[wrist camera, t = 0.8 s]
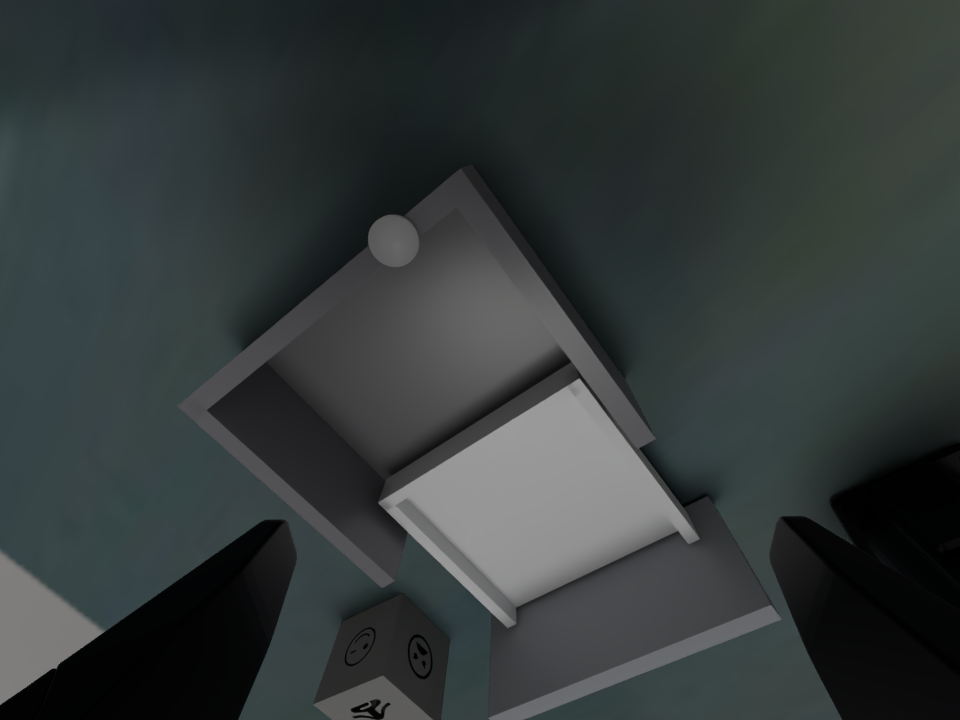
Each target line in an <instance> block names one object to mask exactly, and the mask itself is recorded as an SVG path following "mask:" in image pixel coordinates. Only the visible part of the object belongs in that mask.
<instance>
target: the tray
mask: <svg viewBox="0 0 960 720" xmlns="http://www.w3.org/2000/svg"><path fill="white" fill-rule="evenodd" d="M378 504H379V505H380V506H382V507H383V508H384V509H385V510H386V511H387V512H388V513H389V514H390V515H391V516H392V517H393V518H394V519H395V520H396V521H397V522H398V523H399V524H400V525H401V526H402V527H403V528H404V529H405V530H406V531H407V532H408V533H409V534H411V535H412V536H413V537H414V538H415V539H416V540H417V541H418V542H419V543H420V544H421V545H422V546H423V547H424V548H425V549H426V550H427V551H428V552H429V553H430V554H431V555H432V556H433V557H434V558H435V559H436V560H437V561H439V562H440V563H441V564H442V565H443V566H444V567H445V568H446V569H447V570H448V571H449V572H450V573H451V574H452V575H453V576H454V577H455V578H456V579H457V580H458V581H459V582H460V583H461V584H462V585H463V586H464V587H465V588H466V589H468V590H469V591H470V592H471V593H472V594H473V595H474V596H475V597H476V598H477V599H478V600H479V601H480V602H481V603H482V604H483V605H484V606H485V607H486V608H487V609H488V610H489V611H490V612H491V613H492V618H491V647H490V677H489V706H488V718H489V719H490V720H524V719H526V718H529V717H532V716H534V715H537V714H539V713H542V712H544V711H547V710H550V709H552V708H555V707H557V706H560V705H563V704H565V703H568V702H570V701H573V700H575V699H578V698H581V697H583V696H586V695H588V694H591V693H593V692H596V691H599V690H601V689H604V688H606V687H609V686H611V685H614V684H617V683H619V682H622V681H624V680H627V679H629V678H632V677H635V676H637V675H640V674H642V673H645V672H648V671H650V670H653V669H655V668H658V667H660V666H663V665H666V664H668V663H671V662H673V661H676V660H678V659H681V658H684V657H686V656H689V655H691V654H694V653H696V652H699V651H702V650H704V649H707V648H709V647H712V646H715V645H717V644H720V643H722V642H725V641H727V640H730V639H733V638H735V637H738V636H740V635H743V634H745V633H748V632H751V631H753V630H756V629H758V628H761V627H763V626H766V625H769V624H771V623H774V622H776V621H779V620H782V619H781V617H780V616H779V614H778V612H777V610H776V609H775V607H774V605H773V604H772V602H771V600H770V598H769V597H768V595H767V593H766V592H765V590H764V588H763V587H762V585H761V583H760V581H759V580H758V578H757V576H756V575H755V573H754V571H753V569H752V568H751V566H750V564H749V563H748V561H747V559H746V558H745V556H744V554H743V552H742V551H741V549H740V547H739V546H738V544H737V542H736V540H735V539H734V537H733V535H732V534H731V532H730V530H729V528H728V527H727V525H726V523H725V522H724V520H723V518H722V517H721V515H720V513H719V511H718V510H717V508H716V507H715V505H714V504H713V502H712V501H711V500H710V498H709V497H708V496H706V497H704V498H702V499H700V500H698V501H696V502H694V503H692V504H690V505H688V506H686V507H684V508H683V507H682V505H681V504H680V503H679V501H678V500H677V499H676V497H675V496H674V495H673V493H672V492H671V490H670V489H669V488H668V486H667V485H666V484H665V482H664V481H663V480H662V478H661V477H660V476H659V474H658V473H657V472H656V470H655V469H654V468H653V466H652V465H651V464H650V462H649V461H648V460H647V458H646V457H645V456H644V454H643V453H642V452H641V450H640V449H639V448H638V449H636V447H635V446H634V445H633V443H632V442H631V441H630V439H629V438H628V437H627V435H626V434H625V433H624V431H623V430H622V428H621V427H620V426H619V424H618V423H617V422H616V420H615V419H614V418H613V416H612V415H611V414H610V412H609V411H608V410H607V408H606V407H605V406H604V404H603V403H602V402H601V400H600V399H599V398H598V396H597V395H596V394H595V392H594V391H593V390H592V388H591V387H590V386H589V384H588V383H587V382H586V380H585V379H584V378H583V376H582V375H581V374H580V372H579V371H578V370H577V368H576V367H575V366H574V364H573V363H572V362H571V363H569V364H568V365H566V366H564V367H563V368H561V369H560V370H558V371H557V372H555V373H553V374H552V375H550V376H549V377H547V378H545V379H544V380H542V381H541V382H539V383H538V384H536V385H534V386H533V387H531V388H530V389H528V390H527V391H525V392H523V393H522V394H520V395H519V396H517V397H515V398H514V399H512V400H511V401H509V402H508V403H506V404H504V405H503V406H501V407H500V408H498V409H497V410H495V411H493V412H492V413H490V414H489V415H487V416H485V417H484V418H482V419H481V420H479V421H478V422H476V423H474V424H473V425H471V426H470V427H468V428H466V429H465V430H463V431H462V432H460V433H459V434H457V435H455V436H454V437H452V438H451V439H449V440H448V441H446V442H444V443H443V444H441V445H440V446H438V447H436V448H435V449H433V450H432V451H430V452H429V453H427V454H425V455H424V456H422V457H421V458H419V459H418V460H416V461H414V462H413V463H411V464H410V465H408V466H406V467H405V468H403V469H402V470H400V471H399V472H397V473H395V474H394V475H392V476H391V477H389V478H388V479H386V482H385V485H384V487H383V490H382V493H381V496H380V498H379V501H378Z"/></svg>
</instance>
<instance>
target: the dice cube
mask: <svg viewBox="0 0 960 720" xmlns="http://www.w3.org/2000/svg"><path fill="white" fill-rule="evenodd" d="M449 646H450V640H449V639H448V638H447V637H446V636H445V635H444V634H443V633H442V632H441V631H440V630H439V629H438V628H437V627H436V626H435V625H434V624H433V623H432V622H431V621H430V620H429V619H428V618H427V617H426V616H425V615H424V614H423V613H422V612H421V611H420V610H419V609H418V608H417V607H416V606H415V605H414V604H413V603H412V602H411V601H410V600H409V599H408V598H407V597H406V596H405V595H404V594H403V593H402V594H400V595H398V596H396V597H393V598H391V599H389V600H387V601H385V602H383V603H381V604H378V605H376V606H374V607H372V608H370V609H368V610H366V611H364V612H361V613H359V614H357V615H355V616H353V617H351V618H349V619H346V620H344V621H342V623H341V626H340V629H339V632H338V635H337V638H336V641H335V643H334V646H333V649H332V652H331V655H330V658H329V660H328V663H327V666H326V669H325V672H324V675H323V678H322V680H321V683H320V686H319V689H318V692H317V695H316V697H315V700H314V703H313V705H314V706H316V707H317V708H318V709H319V710H321V711H322V712H323V713H324V714H326V715H327V716H328V717H329V718H331V719H332V720H441V714H442V705H443V697H444V688H445V680H446V671H447V663H448V654H449Z"/></svg>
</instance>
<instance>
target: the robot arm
mask: <svg viewBox="0 0 960 720" xmlns="http://www.w3.org/2000/svg"><path fill="white" fill-rule="evenodd" d="M843 506H844V507H843ZM831 507H832V509H833V511H834V512H835V514H836V516H837V517H838V519H839V521H840V522H841V524H842V526H843V527H844V529H845V531H846V532H847V534H848V536H849V537H850V539H851V541H852V542H853V544H854V545H852V544H850V543H849V542H847V541H845V540H844V539H842V538H840V537H839V536H837V535H835V534H834V533H832V532H831V531H829V530H827V529H826V528H824V527H822V526H821V525H819V524H817V523H816V522H814V521H812V520H811V519H809V518H807V517H803V516H783V517H780V518H779V519H778V520H777V522H776V525H775V530H774V534H773V538H772V542H771V546H770V551H769V557H770V562H771V565H772V568H773V571H774V573H775V575H776V578H777V580H778V583H779V585H780V588H781V590H782V593H783V595H784V597H785V600H786V602H787V605H788V607H789V610H790V612H791V614H792V617H793V619H794V622H795V624H796V627H797V629H798V632H799V634H800V636H801V639H802V641H803V643H804V646H805V648H806V650H807V652H808V655H809V657H810V659H811V661H812V663H813V665H814V667H815V669H816V671H817V672H818V674H819V676H820V678H821V680H822V682H823V684H824V686H825V688H826V690H827V691H828V693H829V695H830V697H831V699H832V701H833V703H834V705H835V707H836V709H837V710H838V712H839V714H840V716H841V718H842V720H960V443H958V444H955V445H952V446H950V447H948V448H946V449H943V450H941V451H939V452H937V453H935V454H932V455H930V456H928V457H926V458H923V459H921V460H919V461H917V462H915V463H912V464H910V465H908V466H906V467H903V468H901V469H899V470H897V471H894V472H892V473H890V474H888V475H886V476H883V477H881V478H879V479H877V480H874V481H872V482H870V483H868V484H866V485H863V486H861V487H859V488H857V489H854V490H852V491H850V492H848V493H846V494H843V495H841V496H839V497H837V498H835V499H834V500H833V501H832V503H831ZM296 560H297V552H296V548H295V544H294V541H293V538H292V534H291V531H290V528H289V525H288V523H287V522H286V521H285V520H264V521H262V522H260V523H259V524H257V525H256V526H254V527H253V528H252V529H250V530H249V531H247V532H246V533H245V534H243V535H242V536H240V537H239V538H237V539H236V540H235V541H233V542H232V543H230V544H229V545H228V546H226V547H225V548H223V549H222V550H220V551H219V552H218V553H216V554H215V555H213V556H212V557H210V558H209V559H208V560H206V561H205V562H203V563H202V564H201V565H199V566H198V567H196V568H195V569H193V570H192V571H191V572H189V573H188V574H186V575H185V576H183V577H182V578H181V579H179V580H178V581H176V582H175V583H174V584H172V585H171V586H169V587H168V588H166V589H165V590H164V591H162V592H161V593H159V594H158V595H157V596H155V597H154V598H152V599H151V600H149V601H148V602H147V603H145V604H144V605H142V606H141V607H139V608H138V609H137V610H135V611H134V612H132V613H131V614H130V615H128V616H127V617H125V618H124V619H122V620H121V621H120V622H118V623H117V624H115V625H114V626H112V627H111V628H110V629H108V630H107V631H105V632H104V633H103V634H101V635H100V636H98V637H97V638H95V639H94V640H93V641H91V642H90V643H88V644H87V645H85V646H84V647H83V648H81V649H80V650H78V651H77V652H76V653H74V654H73V655H71V656H70V657H68V658H67V659H66V660H64V661H63V662H61V663H60V664H59V665H58V667H57V669H51V670H50V671H49V672H47V673H46V674H44V675H43V676H41V677H40V678H39V679H37V680H36V681H34V682H33V683H31V684H30V685H29V686H27V687H26V688H24V689H23V690H21V691H20V692H18V693H17V694H16V695H14V696H13V697H11V698H10V699H8V700H7V701H5V702H4V703H2V704H1V705H0V720H238V719H239V716H240V714H241V712H242V709H243V707H244V705H245V702H246V700H247V698H248V695H249V693H250V691H251V688H252V686H253V683H254V681H255V679H256V676H257V674H258V672H259V669H260V667H261V665H262V662H263V660H264V658H265V655H266V653H267V650H268V648H269V645H270V642H271V640H272V637H273V634H274V631H275V628H276V625H277V622H278V618H279V615H280V612H281V609H282V606H283V603H284V600H285V596H286V593H287V590H288V587H289V584H290V581H291V578H292V574H293V571H294V568H295V565H296Z"/></svg>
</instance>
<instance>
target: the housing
mask: <svg viewBox="0 0 960 720" xmlns="http://www.w3.org/2000/svg"><path fill="white" fill-rule="evenodd" d="M368 244H369V246H367V247H366V248H365V249H364V250H363V251H361V252H360V253H359V254H358V255H357V256H355V257H354V258H353V259H352V260H351V261H349V262H348V263H347V264H346V265H345V266H344V267H342V268H341V269H340V270H339V271H338V272H336V273H335V274H334V275H333V276H332V277H330V278H329V279H328V280H327V281H326V282H324V283H323V284H322V285H321V286H320V287H319V288H317V289H316V290H315V291H314V292H313V293H311V294H310V295H309V296H308V297H307V298H305V299H304V300H303V301H302V302H301V303H300V304H298V305H297V306H296V307H295V308H294V309H292V310H291V311H290V312H289V313H288V314H286V315H285V316H284V317H283V318H282V319H280V320H279V321H278V322H277V323H276V324H275V325H273V326H272V327H271V328H270V329H269V330H267V331H266V332H265V333H264V334H263V335H261V336H260V337H259V338H258V339H257V340H255V341H254V342H253V343H252V344H251V345H250V346H248V347H247V348H246V349H245V350H244V351H242V352H241V353H240V354H239V355H238V356H236V357H235V358H234V359H233V360H232V361H230V362H229V363H228V364H227V365H226V366H225V367H223V368H222V369H221V370H220V371H219V372H217V373H216V374H215V375H214V376H213V377H211V378H210V379H209V380H208V381H207V382H206V383H204V384H203V385H202V386H201V387H200V388H198V389H197V390H196V391H195V392H194V393H192V394H191V395H190V396H189V397H188V398H186V399H185V400H184V401H183V402H182V403H181V404H179V405H178V407H179V408H180V409H181V410H182V411H183V412H184V413H186V414H187V415H188V416H189V417H190V418H191V419H192V420H193V421H195V422H196V423H197V424H198V425H199V426H200V427H201V428H202V429H204V430H205V431H206V432H207V433H208V434H209V435H210V436H211V437H213V438H214V439H215V440H216V441H217V442H218V443H219V444H220V445H222V446H223V447H224V448H225V449H226V450H227V451H228V452H229V453H231V454H232V455H233V456H234V457H235V458H236V459H237V460H238V461H240V462H241V463H242V464H243V465H244V466H245V467H246V468H247V469H249V470H250V471H251V472H252V473H253V474H254V475H255V476H256V477H258V478H259V479H260V480H261V481H262V482H263V483H264V484H265V485H267V486H268V487H269V488H270V489H271V490H272V491H273V492H274V493H276V494H277V495H278V496H279V497H280V498H281V499H282V500H283V501H285V502H286V503H287V504H288V505H289V506H290V507H291V508H292V509H294V510H295V511H296V512H297V513H298V514H299V515H300V516H301V517H303V518H304V519H305V520H306V521H307V522H308V523H309V524H310V525H312V526H313V527H314V528H315V529H316V530H317V531H318V532H319V533H321V534H322V535H323V536H324V537H325V538H326V539H327V540H328V541H330V542H331V543H332V544H333V545H334V546H335V547H336V548H337V549H339V550H340V551H341V552H342V553H343V554H344V555H345V556H346V557H348V558H349V559H350V560H351V561H352V562H353V563H354V564H355V565H357V566H358V567H359V568H360V569H361V570H362V571H363V572H364V573H366V574H367V575H368V576H369V577H370V578H371V579H372V580H373V581H375V582H376V583H377V584H378V585H379V586H380V587H381V588H383V587H385V586H387V585H389V584H390V583H392V582H394V581H395V579H396V575H397V571H398V567H399V563H400V559H401V556H402V552H403V548H404V544H405V540H406V537H407V533H408V532H407V531H406V530H405V529H404V528H403V527H402V526H401V525H400V524H399V523H398V522H397V521H396V520H395V519H394V518H393V517H392V516H391V515H390V514H389V513H388V512H387V511H386V510H385V509H384V508H383V507H382V506H380V505H379V504H378V501H379V498H380V496H381V493H382V490H383V487H384V485H385V482H386V479H388V478H389V477H391V476H392V475H394V474H395V473H397V472H399V471H400V470H402V469H403V468H405V467H406V466H408V465H410V464H411V463H413V462H414V461H416V460H418V459H419V458H421V457H422V456H424V455H425V454H427V453H429V452H430V451H432V450H433V449H435V448H436V447H438V446H440V445H441V444H443V443H444V442H446V441H448V440H449V439H451V438H452V437H454V436H455V435H457V434H459V433H460V432H462V431H463V430H465V429H466V428H468V427H470V426H471V425H473V424H474V423H476V422H478V421H479V420H481V419H482V418H484V417H485V416H487V415H489V414H490V413H492V412H493V411H495V410H497V409H498V408H500V407H501V406H503V405H504V404H506V403H508V402H509V401H511V400H512V399H514V398H515V397H517V396H519V395H520V394H522V393H523V392H525V391H527V390H528V389H530V388H531V387H533V386H534V385H536V384H538V383H539V382H541V381H542V380H544V379H545V378H547V377H549V376H550V375H552V374H553V373H555V372H557V371H558V370H560V369H561V368H563V367H564V366H566V365H568V364H569V363H571V362H572V363H573V364H574V366H575V367H576V368H577V370H578V371H579V372H580V374H581V375H582V376H583V378H584V379H585V380H586V382H587V383H588V384H589V386H590V387H591V388H592V390H593V391H594V392H595V394H596V395H597V396H598V398H599V399H600V400H601V402H602V403H603V404H604V406H605V407H606V408H607V410H608V411H609V412H610V414H611V415H612V416H613V418H614V419H615V420H616V422H617V423H618V424H619V426H620V427H621V428H622V430H623V431H624V433H625V434H626V435H627V437H628V438H629V439H630V441H631V442H632V443H633V445H634V446H635V447H636V449H638V448H640V447H642V446H644V445H646V444H648V443H649V442H651V441H653V440H655V439H656V438H655V436H654V434H653V432H652V430H651V428H650V426H649V424H648V422H647V420H646V419H645V417H644V415H643V413H642V411H641V409H640V407H639V405H638V403H637V401H636V399H635V397H634V395H633V393H632V391H631V389H630V388H629V386H628V384H627V382H626V380H625V378H624V377H623V375H622V374H621V373H620V371H619V370H618V368H617V367H616V366H615V364H614V363H613V361H612V360H611V359H610V357H609V356H608V354H607V353H606V352H605V350H604V349H603V347H602V346H601V345H600V343H599V342H598V340H597V339H596V338H595V336H594V335H593V333H592V332H591V331H590V329H589V328H588V326H587V325H586V323H585V322H584V321H583V319H582V318H581V316H580V315H579V314H578V312H577V311H576V309H575V308H574V307H573V305H572V304H571V302H570V301H569V300H568V298H567V297H566V295H565V294H564V293H563V291H562V290H561V288H560V287H559V286H558V284H557V283H556V281H555V280H554V279H553V277H552V276H551V274H550V273H549V272H548V270H547V269H546V267H545V266H544V264H543V263H542V262H541V260H540V259H539V257H538V256H537V255H536V253H535V252H534V250H533V249H532V248H531V246H530V245H529V243H528V242H527V241H526V239H525V238H524V236H523V235H522V234H521V232H520V231H519V229H518V228H517V227H516V225H515V224H514V222H513V221H512V220H511V218H510V217H509V215H508V214H507V212H506V211H505V210H504V208H503V207H502V205H501V204H500V203H499V201H498V200H497V198H496V197H495V196H494V194H493V193H492V191H491V190H490V189H489V187H488V186H487V184H486V183H485V182H484V180H483V179H482V177H481V176H480V175H479V173H478V172H477V170H476V169H475V168H474V166H473V165H472V164H471V165H468V166H465V167H462V168H460V169H459V170H458V171H457V172H455V173H454V174H453V175H452V176H451V177H449V178H448V179H447V180H446V181H445V182H443V183H442V184H441V185H440V186H439V187H438V188H436V189H435V190H434V191H433V192H432V193H430V194H429V195H428V196H427V197H426V198H424V199H423V200H422V201H421V202H420V203H418V204H417V205H416V206H415V207H414V208H413V209H411V210H410V211H409V212H408V213H407V214H405V215H404V216H401V215H396V214H390V215H386V216H383V217H381V218H380V219H378V220H377V221H375V222H374V224H373V225H372V226H371V228H370V231H369V234H368Z"/></svg>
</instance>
